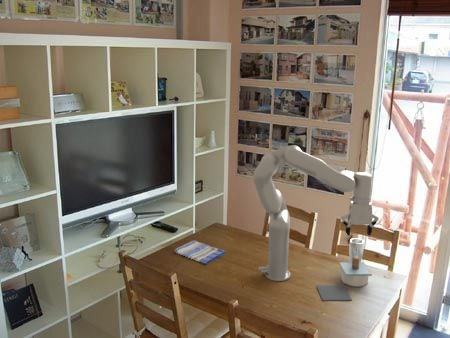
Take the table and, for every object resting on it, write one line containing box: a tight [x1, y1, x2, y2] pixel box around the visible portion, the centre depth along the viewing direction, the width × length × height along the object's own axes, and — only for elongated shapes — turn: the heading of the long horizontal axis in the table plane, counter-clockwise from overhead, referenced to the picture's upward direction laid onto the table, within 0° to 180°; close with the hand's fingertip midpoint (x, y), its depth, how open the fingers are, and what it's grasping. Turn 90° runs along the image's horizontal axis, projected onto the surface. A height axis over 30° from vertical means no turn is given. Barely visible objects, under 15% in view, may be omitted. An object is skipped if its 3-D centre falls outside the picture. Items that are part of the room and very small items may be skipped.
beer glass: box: [348, 237, 365, 262], centre depth 233 cm, size 7×7×15 cm
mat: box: [316, 284, 353, 302], centre depth 212 cm, size 13×13×1 cm
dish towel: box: [174, 239, 226, 265], centre depth 251 cm, size 17×24×3 cm
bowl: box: [340, 268, 369, 288], centre depth 222 cm, size 12×12×6 cm
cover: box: [338, 257, 373, 277], centre depth 220 cm, size 12×12×6 cm
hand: (358, 234), depth 216 cm, fingers open, 9 cm apart
